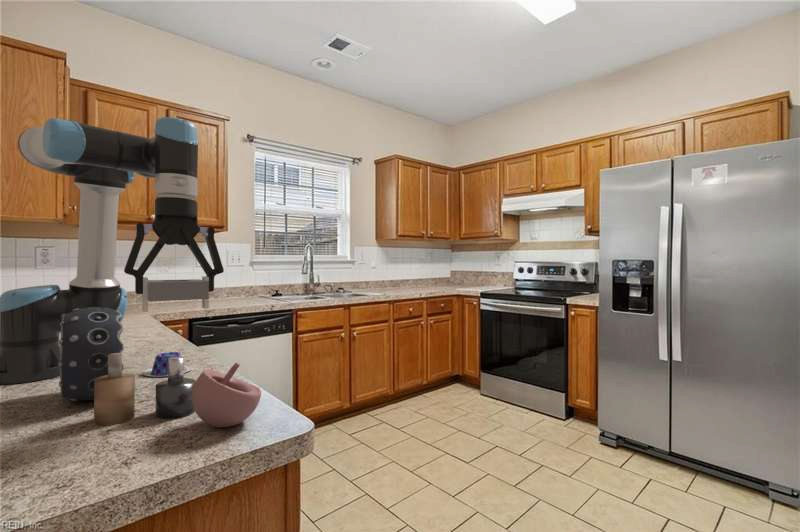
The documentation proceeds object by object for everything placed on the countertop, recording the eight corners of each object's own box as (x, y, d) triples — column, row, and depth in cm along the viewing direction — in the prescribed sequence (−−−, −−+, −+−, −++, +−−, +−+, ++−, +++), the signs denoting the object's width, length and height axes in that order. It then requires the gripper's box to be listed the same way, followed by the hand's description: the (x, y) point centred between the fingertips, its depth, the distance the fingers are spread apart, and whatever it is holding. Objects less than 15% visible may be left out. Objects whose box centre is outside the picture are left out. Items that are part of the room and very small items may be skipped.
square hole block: (144, 297, 83) (144, 280, 83) (198, 295, 89) (198, 279, 89) (149, 301, 75) (149, 282, 75) (208, 298, 81) (208, 281, 81)
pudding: (137, 372, 112) (137, 353, 112) (184, 365, 121) (185, 347, 121) (148, 382, 104) (148, 361, 104) (198, 373, 112) (198, 354, 112)
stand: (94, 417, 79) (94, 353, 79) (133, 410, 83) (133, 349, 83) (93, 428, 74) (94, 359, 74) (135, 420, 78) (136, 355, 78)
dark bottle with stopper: (153, 411, 83) (153, 357, 83) (191, 404, 87) (192, 352, 87) (157, 422, 77) (157, 364, 77) (198, 414, 82) (198, 359, 81)
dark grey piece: (57, 417, 79) (57, 314, 79) (63, 390, 95) (64, 304, 95) (124, 406, 86) (124, 311, 85) (119, 382, 102) (120, 302, 101)
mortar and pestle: (268, 429, 75) (268, 367, 75) (195, 444, 69) (195, 376, 68) (253, 408, 85) (253, 354, 85) (188, 420, 79) (189, 360, 79)
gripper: (107, 189, 72) (107, 315, 72) (240, 201, 85) (239, 307, 86) (107, 195, 78) (106, 311, 78) (231, 205, 91) (230, 304, 92)
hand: (176, 309), depth 82 cm, fingers closed on square hole block, 10 cm apart
